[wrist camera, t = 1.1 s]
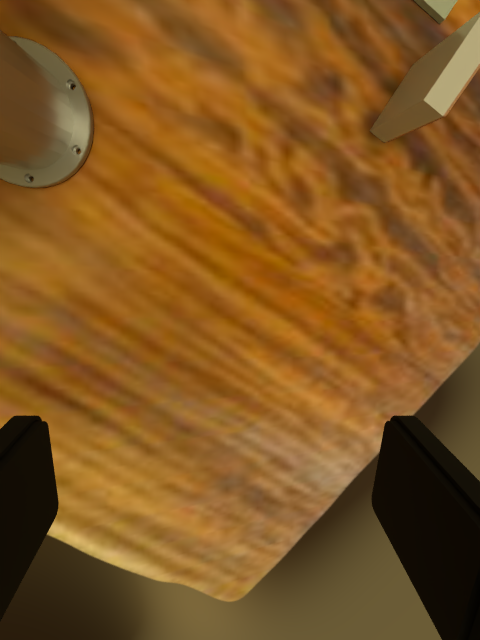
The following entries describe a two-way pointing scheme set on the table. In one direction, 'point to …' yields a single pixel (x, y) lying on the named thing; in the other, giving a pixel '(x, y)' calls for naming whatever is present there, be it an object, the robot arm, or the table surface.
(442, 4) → the board
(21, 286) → the table surface
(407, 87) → the tile
